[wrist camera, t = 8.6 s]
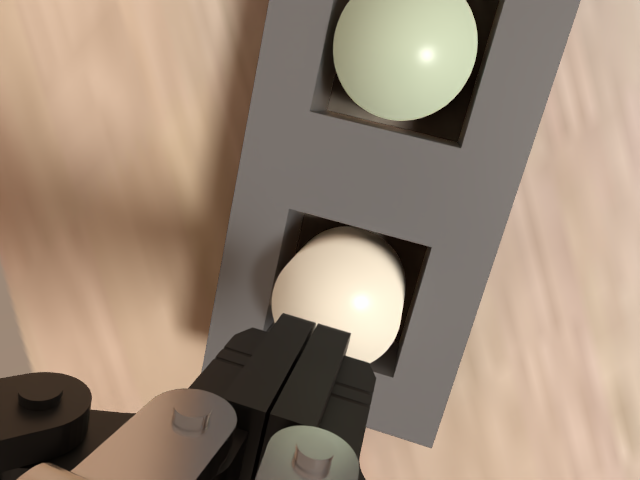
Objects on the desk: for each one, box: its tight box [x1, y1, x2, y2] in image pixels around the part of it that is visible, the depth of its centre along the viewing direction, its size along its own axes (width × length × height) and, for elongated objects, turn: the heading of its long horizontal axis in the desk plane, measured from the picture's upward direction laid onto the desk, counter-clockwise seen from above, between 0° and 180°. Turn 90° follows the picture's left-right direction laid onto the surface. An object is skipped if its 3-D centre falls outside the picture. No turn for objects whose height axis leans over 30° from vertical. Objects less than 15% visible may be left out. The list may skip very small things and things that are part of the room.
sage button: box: [333, 0, 478, 121], centre depth 15 cm, size 4×4×2 cm
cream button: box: [272, 227, 406, 363], centre depth 16 cm, size 4×4×2 cm
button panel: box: [202, 0, 580, 448], centre depth 15 cm, size 22×8×2 cm, turn 167°
